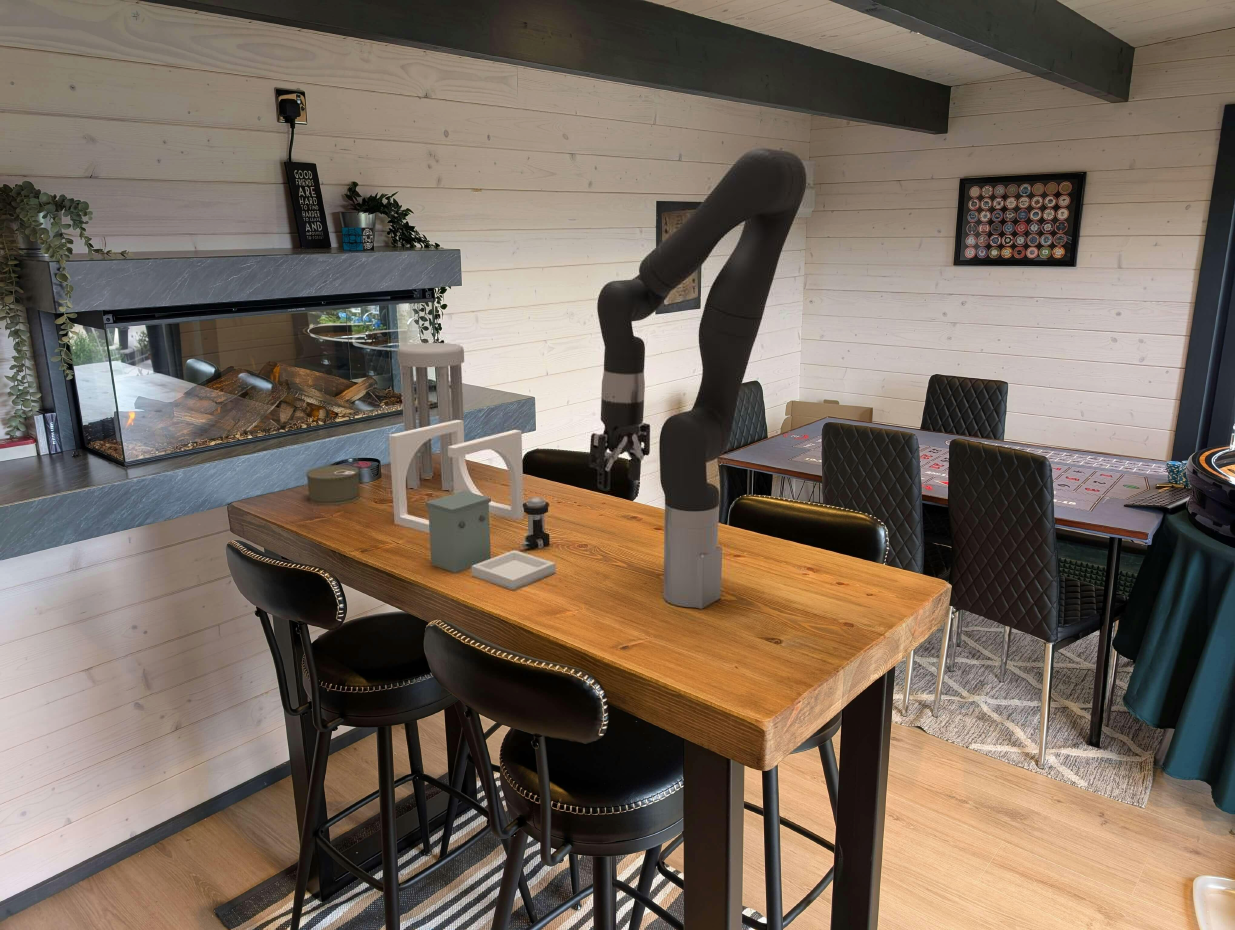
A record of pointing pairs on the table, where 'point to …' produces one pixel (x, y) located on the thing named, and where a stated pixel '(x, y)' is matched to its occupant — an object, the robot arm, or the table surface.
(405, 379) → the stool
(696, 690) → the table surface
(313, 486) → the can
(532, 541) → the push button
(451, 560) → the box
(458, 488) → the bookend
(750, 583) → the table surface
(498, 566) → the tray
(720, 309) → the robot arm
